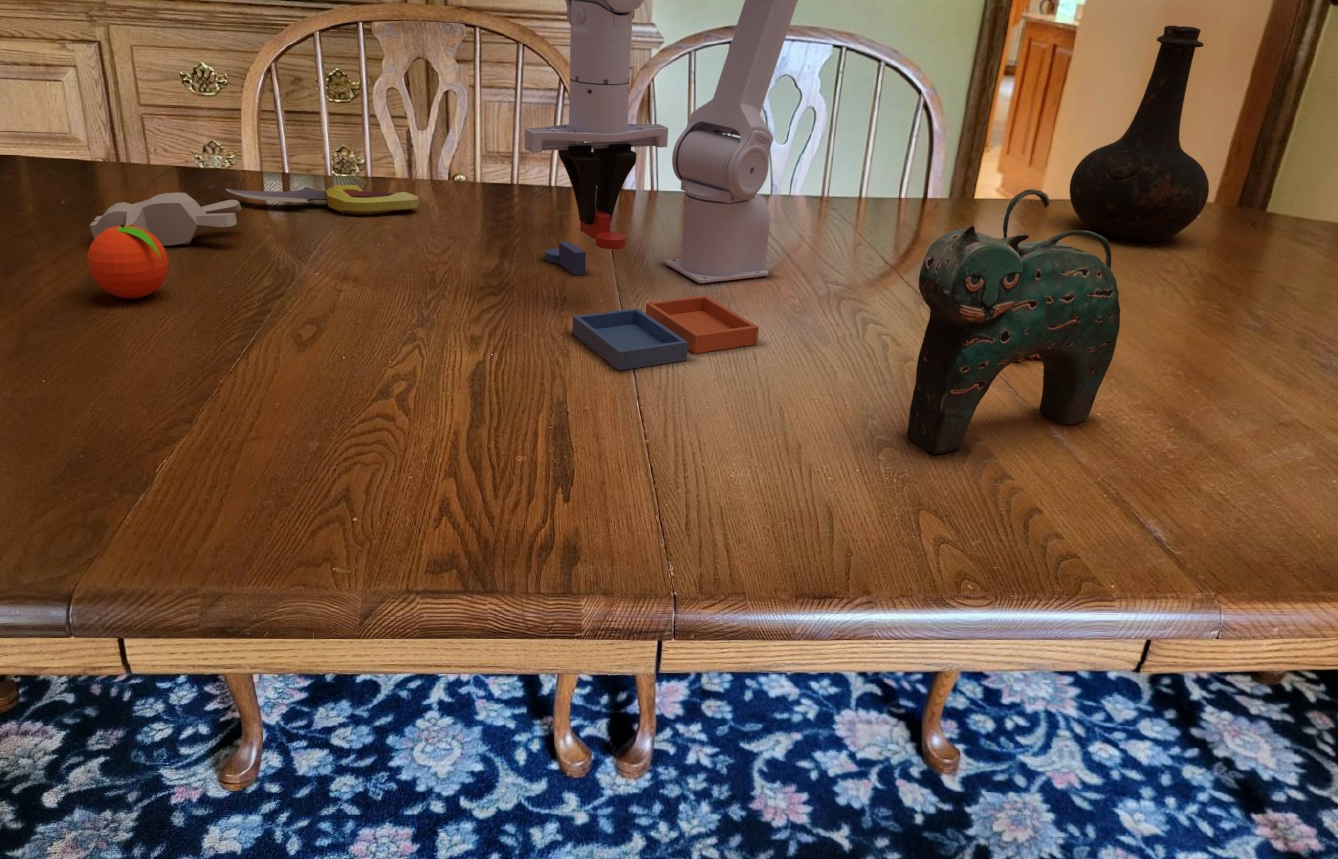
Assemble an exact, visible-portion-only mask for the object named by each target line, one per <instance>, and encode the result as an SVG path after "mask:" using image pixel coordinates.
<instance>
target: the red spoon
mask: <svg viewBox="0 0 1338 859" xmlns="http://www.w3.org/2000/svg"><path fill="white" fill-rule="evenodd" d="M579 221H580V220H579ZM579 227H580V228H579V230H580V232H582V233H583V234H585V235H586V236H588V237H591V238H592V239H593V240H594V241H595V246H596V247H597V248H599V249H604V250H620V249H621V250H622V249H625V248H626V247H627V235H626V234H624V233H621V232H617V231H611V223H610V215H609V214H607V213H605V212H603V211H602V210H600V209H598V208H596V206H595V218H594V224H591V225H587V224H585V223H584V222H582V221H580V224H579Z"/></svg>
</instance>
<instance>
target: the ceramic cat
mask: <svg viewBox="0 0 1338 859" xmlns="http://www.w3.org/2000/svg"><path fill="white" fill-rule="evenodd" d="M1030 195H1031V196H1032V195H1033V196H1037V197H1038V198H1039V199H1040V200H1041V202H1042V204H1043V207H1044V209H1046V208H1048V206H1050V198H1049V196H1048V193H1045V192H1043V191H1042V190H1037V189H1034V188H1033V189H1032V188H1031V189H1025V190H1023V191H1021V192H1020V193H1018V194H1016V195H1015V196H1014V197H1013V198H1012V199H1011V200H1010V202H1009V204H1008V206H1007V208H1006V213H1005V215H1004V218H1003V225H1002V232H1003V237H1000V238H999V237H992V236H990V235H987V234H985V233H982V232H979V231H976V228H975V226H974V224H971V225H970V226H969V227H967V228H966V229H964V228H955V229H953V230H950V231H947V232H946V233H944V234H942V235H941V236H940V237H939V238H937V239H936V240H935V241H933V243H932V244H931V245H930V247H929V248H928V250H927V251H926V254H925V255H924V257H923V261H922V264H921V267H920V271H919V276H918V290H919V293H920V295H921V297H922V299H923V300H924V303H925V304H926V305H927V306H928V308H929V318H928V322H927V325H926V328H925V330H924V335H923V338H922V339H923V340H922V343H921V347H920V349H919V353H918V357H917V363H916V368H915V370H916V371H915V384H914V389H913V394H912V398H911V403H910V406H909V415H908V423H907V430H906V431H907V432H906V437H907V438H908V439H909V440H911V441H912V442H913V443H915V444H916V445H917V446H919V447H920V448H922V449H924V450H925V451H927V452H928V453H930V454H932V455H933V456H935V455H940V454H941V455H942V454H947V453H950V452H951V453H952V452H957V451H958V450H960V449H961V448H962V445H963V443H964V439H965V437H966V434H967V432H968V429H969V427H970V424H971V421H972V419H973V416H974V414H975V412H976V409H977V408H978V406H979V404H980V402H981V400H982V399H983V398H984V396H985V395H986V393H987V392H988V390H989V389H990V387H991V385H992V383H993V382H994V380H995V379H996V378H997V376H998V375H999V374H1000V373H1001V372H1002V371H1003V370H1004V369H1005V368H1006V367H1008V366H1009V365H1011V364H1013V363H1016V362H1019V361H1018V360H1020V359H1022V358H1024V359H1025V358H1028V357H1027V356H1030V355H1034V354H1038V355H1039V356H1040V357H1041V358H1040V360H1041V362H1042V365H1043V370H1042V371H1043V373H1042V374H1043V375H1042V376H1043V377H1042V393H1041V398H1040V404H1039V408H1038V409H1039V410H1038V411H1039V412H1040V414H1042V415H1043V416H1046V417H1049V418H1050V419H1051V420H1052V421H1054V422H1056V423H1059V424H1063V425H1075V424H1079V423H1083V422H1084V421H1086V420H1087V419H1088V418H1089V415H1090V413H1091V411H1092V408H1093V405H1094V402H1095V400H1096V396H1097V394H1098V392H1099V390H1100V387H1101V385H1102V383H1103V382H1104V378H1105V376H1106V374H1107V372H1108V369H1109V367H1110V365H1111V362H1112V361H1113V357H1114V354H1115V350H1116V347H1117V341H1118V336H1119V333H1120V326H1121V325H1120V324H1121V306H1120V301H1119V299H1120V298H1119V295H1120V292H1119V287H1118V284H1117V279H1116V277H1115V275H1114V273H1113V271H1112V250H1111V245H1110V243H1109V241H1108V239H1107V238H1106V237H1104V236H1103V235H1100V234H1098V233H1096V232H1095V231H1094V232H1093V231H1089V230H1085V229H1084V230H1083V229H1072V230H1071V229H1070V230H1067V231H1064V232H1061V233H1058V234H1056V235H1054V236H1052V237H1050V238H1047V239H1045V240H1037V241H1036V240H1035V241H1030V242H1029V241H1028V242H1023V241H1026V240H1027V239H1029V237H1030V234H1016V235H1012V236H1009V237H1008V227H1009V221H1010V215H1011V214H1012V211H1013V210H1014V208H1015V207H1016V205H1017V204H1018V203H1019V202H1020V201H1021V200H1022V199H1024V198H1025V197H1027V196H1030ZM1071 236H1081V237H1085V238H1087V239H1088V238H1090V239H1091V240H1092V239H1093V240H1096V241H1097V242H1099V243H1100V244H1101V246H1102V248H1103V249H1104V253H1105V262H1104V261H1103V260H1102V259H1101V258H1100V257H1099V256H1097V255H1095V254H1093V253H1092V252H1089V251H1087V250H1083V249H1080V248H1076V247H1074V246H1072V245H1070V244H1067V243H1062V242H1059V241H1061V240H1063V239H1065V238H1067V237H1071ZM1022 242H1023V243H1022Z"/></svg>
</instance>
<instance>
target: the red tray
mask: <svg viewBox="0 0 1338 859" xmlns="http://www.w3.org/2000/svg"><path fill="white" fill-rule="evenodd" d="M645 313H646V314H647V315H649V316H650V317H652V318H653V319H655V320H656V321H657V322H659V323H660V324H662V325H663V326H665V327H666V328H668V329H669V330H671V331H672V332H674V333H675V334H677V335H678V336H680V337H681V338H683V339H684V340H685V341H687V342H688V349H687V351H690V352H691V353H692V354H700V353H701V354H702V353H708V352H715V351H721V350H728V349H735V348H736V349H737V348H742V347H749V346H755V345H757V344H758V338H759V328H760V327H759V326H758V325H757V324H755V323H753V322H751V321H749V320H748V319H747V318H744V317H743V316H741V315H739V314H738V313H736V312H734V311H732V310H731V309H730V308H728V307H726V306H725V305H723V304H721V303H719V302H717V301H716V300H714V299H712V298H711V297H709V296H708V295H700V296H691V297H684V298H683V297H682V298H675V299H666V300H658V301H657V300H656V301H649V302H645Z"/></svg>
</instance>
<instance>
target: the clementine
mask: <svg viewBox="0 0 1338 859" xmlns="http://www.w3.org/2000/svg"><path fill="white" fill-rule="evenodd" d="M87 251H88V252H87V268H88V270H89V273H90V276H91V278H92V279H93V281H94V282H95V283H96V284H97V285H98V286H99V287H100V288H101V289H102V290H104V291H105V292H106V293H108V294H110V295H112V296H115V297H117V298H121V299H129V300H131V299H132V300H133V299H134V300H135V299H140V298H143V297H147V296H150V295H151V294H153V293H154V292H156V291H157V290H158V289H159V288H160V287H161V286H162V284H163V283H164V282H165V280H166V278H167V275H168V272H169V258H168V254H167V251H166V249H165V246H163V245H162V244H161V242H160V241H159V240H158V239H157V238H156V237H155V236H154V235H153V234H151V233H149V232H147V231H146V230H144V229H142V228H139V227H136V226H124V225H122V224H121V226H116V227H111V228H108V229H106V230H105V231H103V232H102V233H101V234H99V235H98V236H97V237H96V238H95V239H94V238H93V241H92V242H91V244H90V245H89V248H88V250H87Z"/></svg>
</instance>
